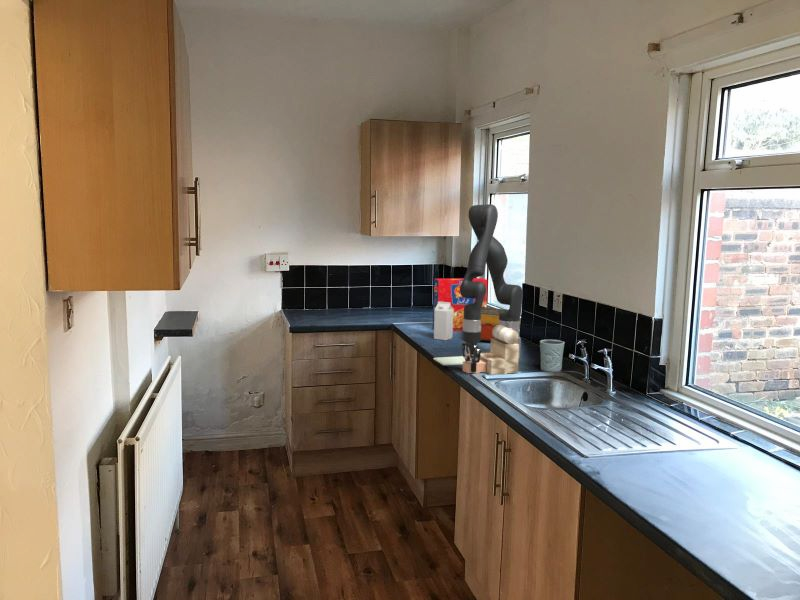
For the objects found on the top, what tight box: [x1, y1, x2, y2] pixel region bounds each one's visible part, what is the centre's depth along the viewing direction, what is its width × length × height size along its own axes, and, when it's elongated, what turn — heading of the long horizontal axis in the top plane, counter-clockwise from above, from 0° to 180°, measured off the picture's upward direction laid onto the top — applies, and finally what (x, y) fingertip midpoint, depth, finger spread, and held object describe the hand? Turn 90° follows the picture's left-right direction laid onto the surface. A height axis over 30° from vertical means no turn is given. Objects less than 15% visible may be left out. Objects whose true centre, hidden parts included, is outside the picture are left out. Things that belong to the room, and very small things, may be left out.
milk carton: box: [433, 301, 454, 341], centre depth 344 cm, size 7×7×19 cm
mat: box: [433, 355, 471, 366], centre depth 296 cm, size 16×12×1 cm
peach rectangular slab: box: [462, 360, 487, 374], centre depth 279 cm, size 13×5×4 cm, turn 110°
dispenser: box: [480, 325, 519, 376], centre depth 280 cm, size 12×14×18 cm
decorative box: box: [481, 306, 509, 343], centre depth 343 cm, size 20×22×16 cm
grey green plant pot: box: [539, 339, 565, 373], centre depth 284 cm, size 10×10×12 cm
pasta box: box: [432, 277, 488, 332], centre depth 369 cm, size 28×8×28 cm, turn 105°
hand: (470, 370), depth 277 cm, fingers closed on peach rectangular slab, 5 cm apart
